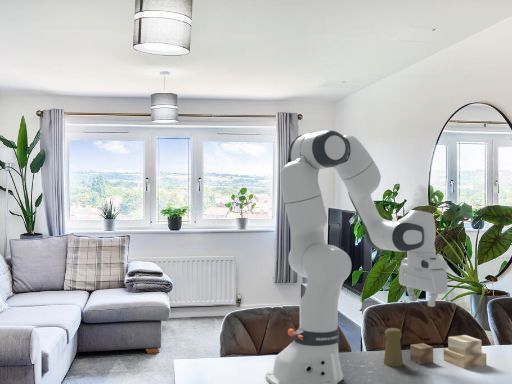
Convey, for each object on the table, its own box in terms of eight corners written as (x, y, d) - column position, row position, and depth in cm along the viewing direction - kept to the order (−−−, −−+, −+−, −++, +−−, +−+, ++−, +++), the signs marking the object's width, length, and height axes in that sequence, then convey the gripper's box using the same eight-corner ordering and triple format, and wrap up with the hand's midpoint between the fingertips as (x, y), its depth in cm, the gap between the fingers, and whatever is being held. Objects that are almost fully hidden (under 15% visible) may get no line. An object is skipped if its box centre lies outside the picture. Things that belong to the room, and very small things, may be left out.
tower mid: (464, 355, 170) (464, 342, 170) (448, 349, 177) (448, 337, 177) (481, 353, 173) (481, 340, 173) (465, 347, 179) (465, 334, 179)
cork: (405, 366, 171) (405, 331, 171) (385, 366, 171) (385, 331, 171) (400, 360, 177) (400, 326, 177) (381, 360, 177) (381, 326, 177)
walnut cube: (420, 364, 173) (420, 348, 173) (410, 360, 178) (410, 344, 178) (433, 362, 175) (433, 347, 175) (423, 358, 179) (422, 343, 180)
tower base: (463, 369, 169) (463, 356, 169) (443, 361, 177) (443, 348, 177) (486, 366, 172) (486, 353, 172) (465, 358, 181) (465, 346, 181)
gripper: (393, 257, 185) (394, 298, 185) (434, 264, 166) (434, 310, 166) (409, 256, 187) (409, 297, 187) (450, 263, 168) (451, 308, 168)
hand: (421, 303), depth 176 cm, fingers open, 8 cm apart
